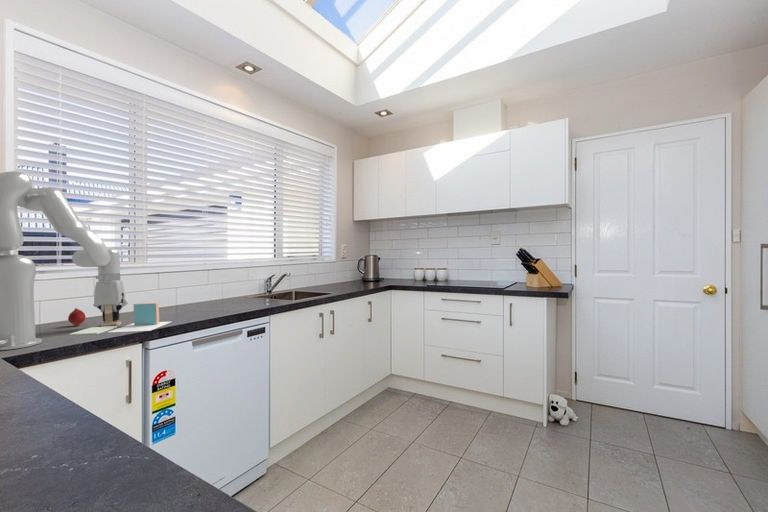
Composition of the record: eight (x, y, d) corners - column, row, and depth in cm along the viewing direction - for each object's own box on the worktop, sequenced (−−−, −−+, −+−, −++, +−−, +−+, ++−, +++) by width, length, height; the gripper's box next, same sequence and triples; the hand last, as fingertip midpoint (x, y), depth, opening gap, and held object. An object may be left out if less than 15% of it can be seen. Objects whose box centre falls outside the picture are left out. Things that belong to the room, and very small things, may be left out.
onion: (88, 324, 162) (87, 306, 162) (81, 326, 157) (80, 308, 156) (73, 325, 161) (72, 307, 161) (65, 327, 155) (64, 309, 155)
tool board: (97, 335, 138) (97, 332, 138) (69, 337, 137) (69, 333, 137) (117, 329, 150) (117, 326, 150) (91, 330, 149) (91, 327, 149)
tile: (156, 324, 153) (155, 303, 153) (133, 325, 152) (133, 304, 152) (159, 323, 155) (158, 302, 155) (137, 324, 154) (136, 303, 154)
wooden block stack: (116, 327, 154) (115, 303, 154) (101, 327, 154) (100, 304, 153) (120, 325, 157) (120, 302, 157) (106, 326, 157) (105, 303, 156)
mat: (150, 332, 142) (150, 330, 142) (106, 334, 140) (106, 332, 140) (172, 323, 160) (172, 321, 160) (133, 324, 158) (133, 323, 158)
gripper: (82, 279, 150) (84, 323, 151) (124, 278, 152) (126, 321, 152) (95, 277, 158) (96, 319, 158) (134, 276, 159) (136, 318, 160)
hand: (111, 320), depth 155 cm, fingers closed on wooden block stack, 3 cm apart
